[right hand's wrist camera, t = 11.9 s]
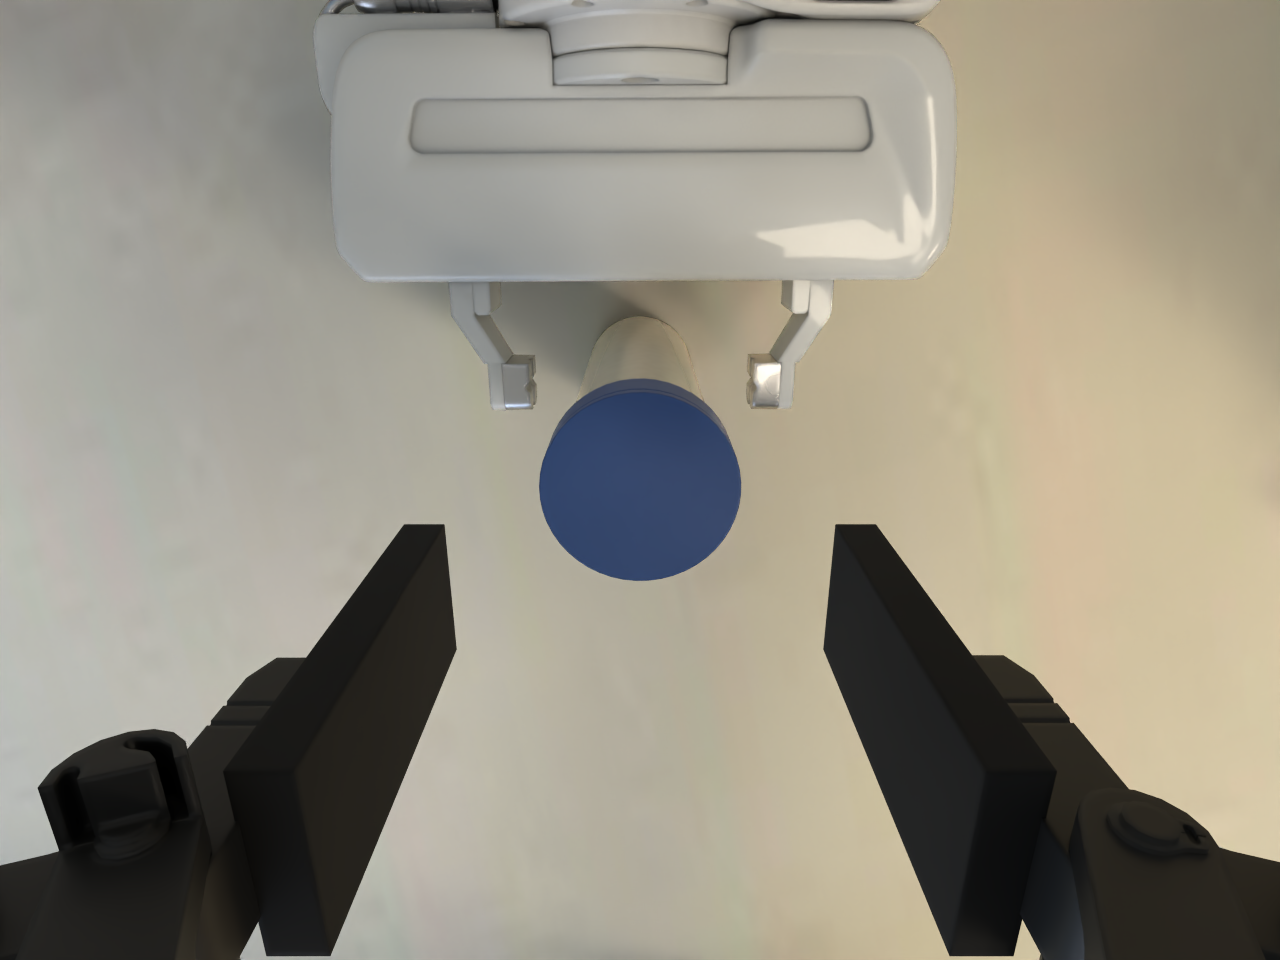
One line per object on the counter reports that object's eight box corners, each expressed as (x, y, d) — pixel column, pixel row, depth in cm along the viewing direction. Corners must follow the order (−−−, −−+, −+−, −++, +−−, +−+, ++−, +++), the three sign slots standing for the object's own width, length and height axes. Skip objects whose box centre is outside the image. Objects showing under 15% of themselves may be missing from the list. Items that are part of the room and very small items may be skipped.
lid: (699, 350, 20) (704, 362, 18) (757, 521, 22) (766, 546, 20) (517, 415, 20) (507, 433, 19) (587, 577, 22) (583, 605, 21)
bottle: (670, 301, 33) (694, 375, 19) (703, 395, 35) (748, 532, 20) (575, 336, 34) (526, 435, 19) (611, 428, 35) (591, 583, 21)
